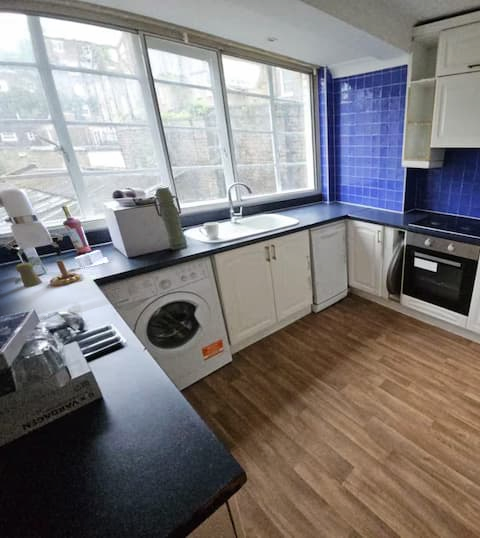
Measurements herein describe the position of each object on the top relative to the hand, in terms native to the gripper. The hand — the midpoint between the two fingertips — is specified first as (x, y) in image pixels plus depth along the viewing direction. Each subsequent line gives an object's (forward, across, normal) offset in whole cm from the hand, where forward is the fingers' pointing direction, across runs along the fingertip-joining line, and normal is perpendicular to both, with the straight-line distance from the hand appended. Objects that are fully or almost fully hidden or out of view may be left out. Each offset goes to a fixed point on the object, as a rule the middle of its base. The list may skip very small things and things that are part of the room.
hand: (43, 258), depth 127 cm
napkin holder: (+14, +14, +25) cm, 32 cm away
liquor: (+14, +14, +51) cm, 55 cm away
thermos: (+13, +55, +16) cm, 59 cm away
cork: (+14, -7, +8) cm, 17 cm away
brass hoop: (+11, +3, 0) cm, 12 cm away
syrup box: (+14, -6, +27) cm, 31 cm away
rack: (+13, +4, 0) cm, 14 cm away
